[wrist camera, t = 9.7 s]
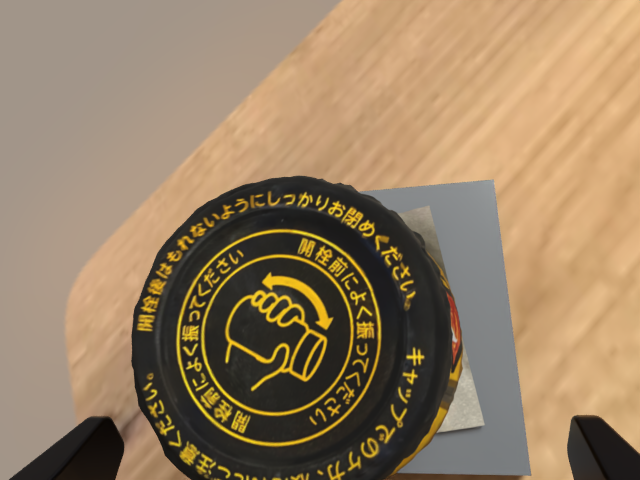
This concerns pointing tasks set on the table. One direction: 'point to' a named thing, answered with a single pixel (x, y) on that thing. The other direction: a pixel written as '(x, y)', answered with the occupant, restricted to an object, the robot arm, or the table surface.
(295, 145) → the table surface
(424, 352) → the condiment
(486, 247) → the coaster board
